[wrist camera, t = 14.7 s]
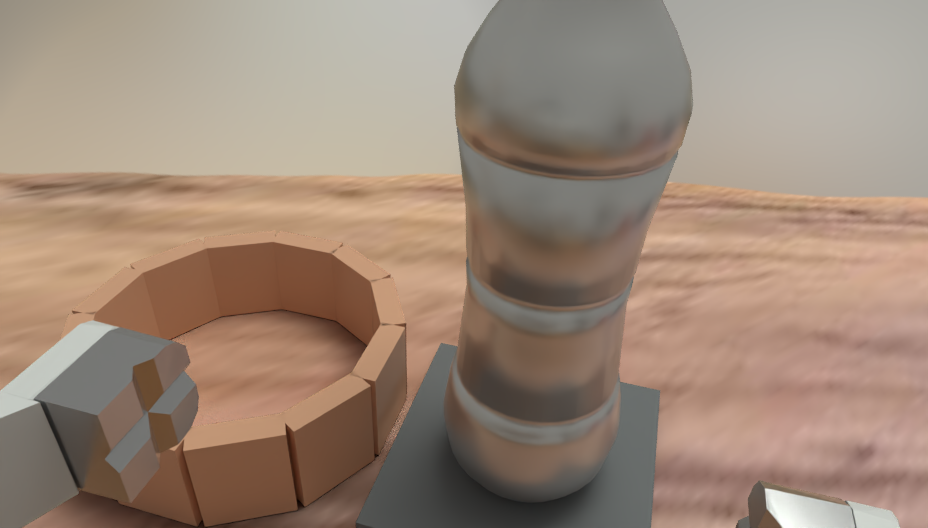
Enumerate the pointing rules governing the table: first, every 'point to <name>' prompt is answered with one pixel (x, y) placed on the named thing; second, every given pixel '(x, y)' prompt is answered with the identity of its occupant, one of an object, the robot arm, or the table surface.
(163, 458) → the terracotta segmented ring
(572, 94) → the silver metal bottle
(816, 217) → the table surface
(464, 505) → the charcoal mat
